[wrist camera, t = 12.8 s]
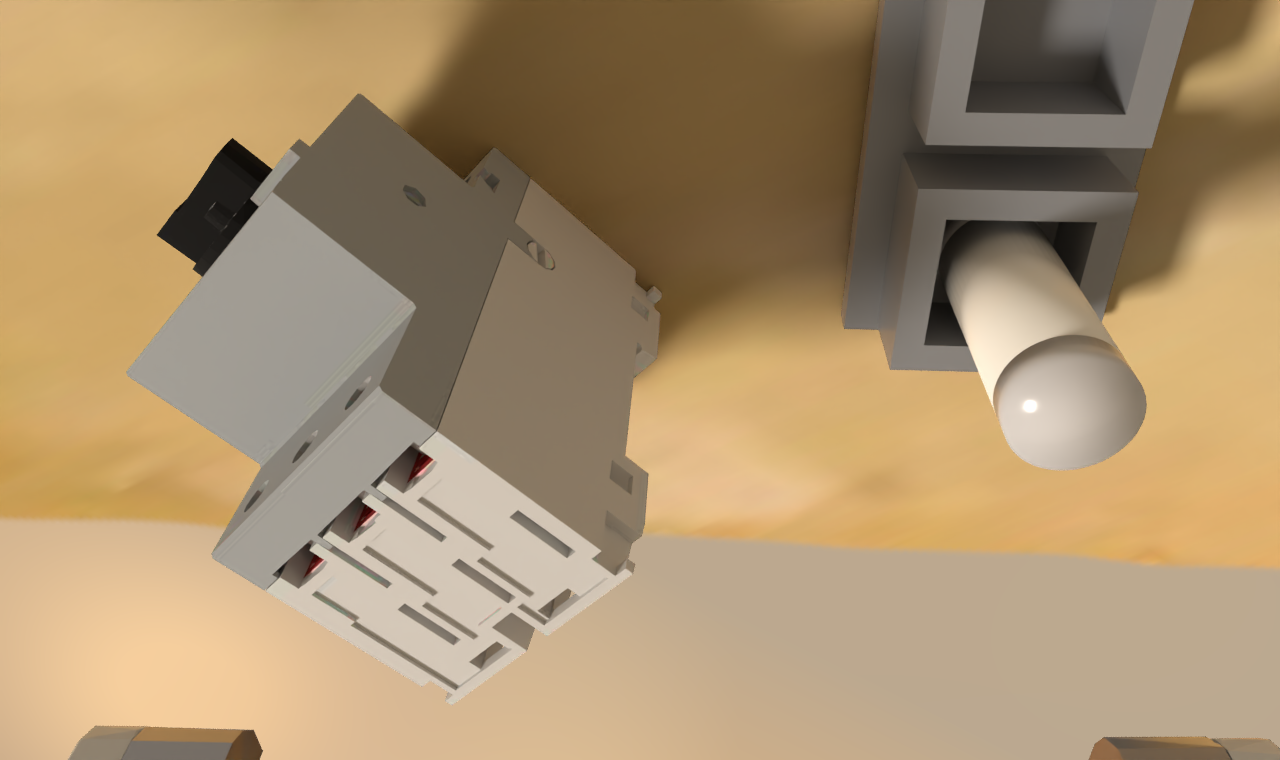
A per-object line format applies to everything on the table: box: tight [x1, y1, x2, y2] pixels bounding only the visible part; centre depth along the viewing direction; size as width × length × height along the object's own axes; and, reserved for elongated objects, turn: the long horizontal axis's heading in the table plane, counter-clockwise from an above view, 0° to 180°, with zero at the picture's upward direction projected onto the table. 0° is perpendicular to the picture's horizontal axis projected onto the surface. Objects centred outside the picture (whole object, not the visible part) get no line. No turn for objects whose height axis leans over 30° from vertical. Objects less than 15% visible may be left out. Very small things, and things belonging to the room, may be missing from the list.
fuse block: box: [841, 0, 1194, 372], centre depth 32 cm, size 9×15×4 cm, turn 0°
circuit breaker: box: [126, 94, 662, 705], centre depth 31 cm, size 8×14×15 cm, turn 46°
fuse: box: [937, 220, 1146, 470], centre depth 31 cm, size 4×4×10 cm
